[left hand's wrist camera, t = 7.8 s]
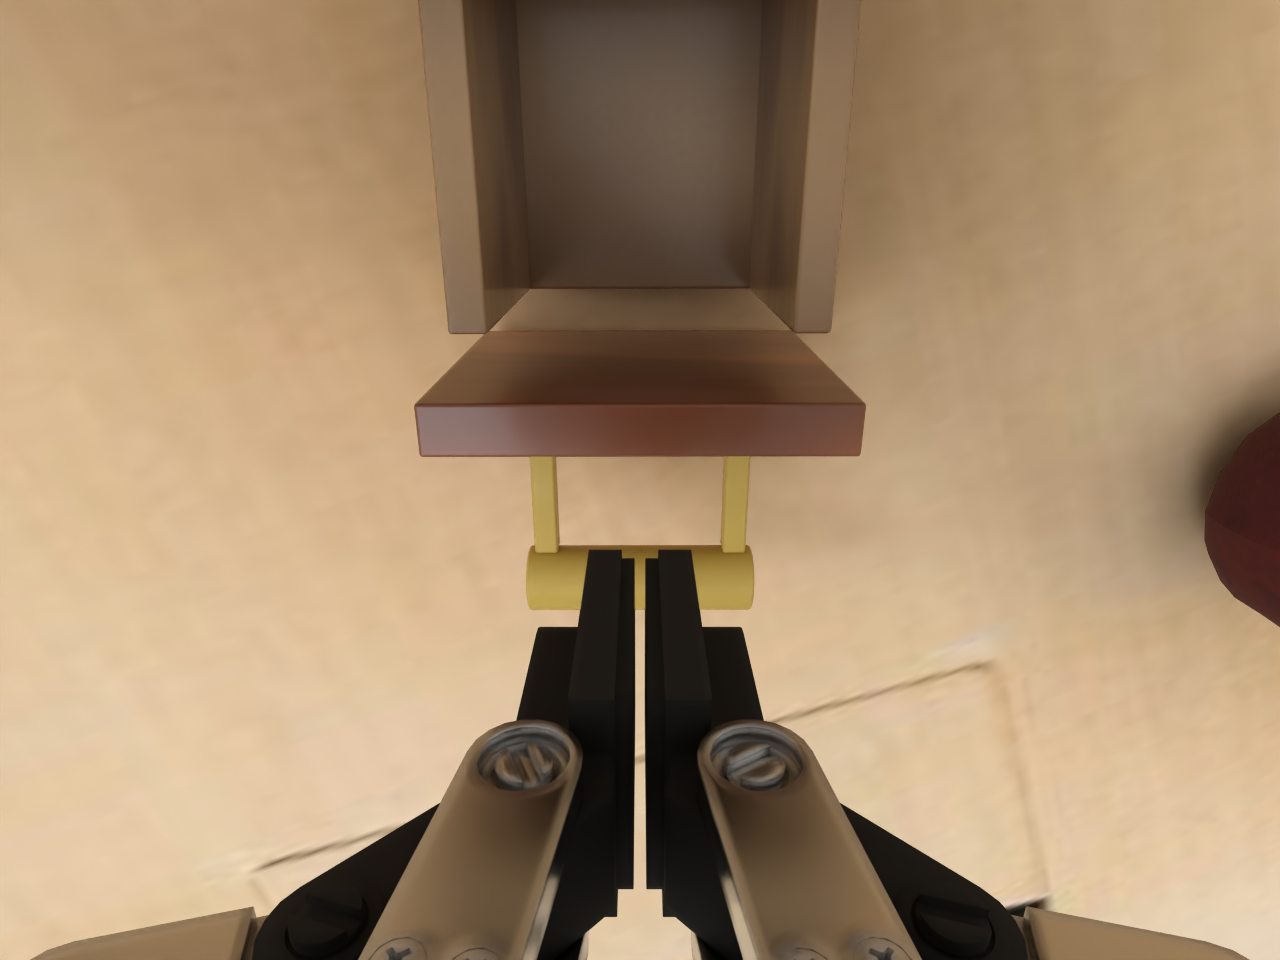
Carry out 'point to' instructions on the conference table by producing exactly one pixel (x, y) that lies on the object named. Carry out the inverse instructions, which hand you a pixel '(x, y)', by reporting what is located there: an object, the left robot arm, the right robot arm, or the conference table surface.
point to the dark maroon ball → (1249, 522)
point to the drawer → (639, 243)
